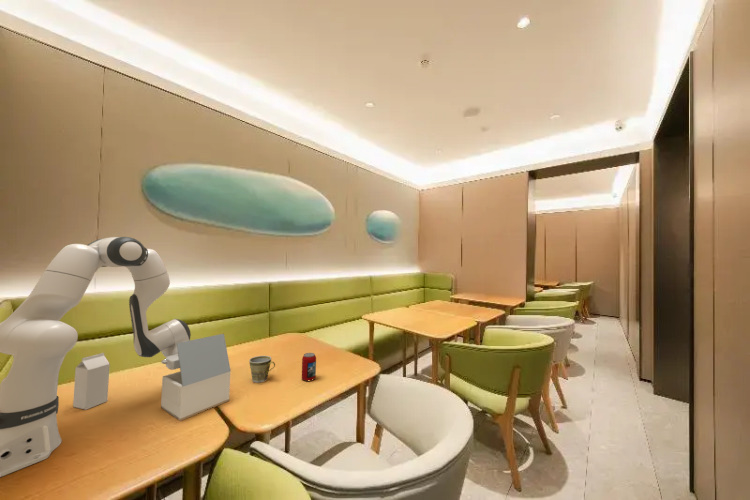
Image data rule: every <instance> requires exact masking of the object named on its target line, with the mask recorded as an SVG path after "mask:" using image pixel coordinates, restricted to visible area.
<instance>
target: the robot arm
mask: <svg viewBox="0 0 750 500" xmlns="http://www.w3.org/2000/svg"><path fill="white" fill-rule="evenodd" d="M105 267H109V268H121V267H125V268H127V269H128V271H129V273H130V274H131V277H132V279H133V284H134V291H133V293H132V294H131V295H130V296H129V300H128V305H129V313H130V315H129V316H130V320H131V328H132V333H133V347H134V351H135V352H136V354H137V355H138V356H139V357H141V358H153V357H154V356H156V355H157V354H159V353H161V354H162V355H163V356H164V357H165V358H164V359H163V360H161V361H160V362H161V364H163V365H165V367H166V368H167V369H168V370H171V371H173V370H178V369H180V365H179V357H178V350H177V343H180V342H185V341H190V340H191V336H192V335H191V334H192V333H191V329H190V326H189V325H188V324H187V323H186V322H185V321H183V320H181V319H178V318H173V319H172V320H169V321H167V322H164V323H163V324H161V325H159V326H157V327H155V328H152V329H150V330H149V326H148V325H149V324H148V318H147V311H148V309H149V307H150V306H151V305H152V304H153V303H154V302H155V301H156V300H158V299H159V298H161V297H162V296H163V295H164V294H165V293H166V292H167V290H169V287H170V284H171V283H170V282H171V281H170V277H169V274H168V271H167V268H166V266H165V263H164V261H163V259H162V258H161V256H160V255H159V253H158V252H157V251H156V250H155V249H152V248H146V247H145V246H144V244H143V243H142V242H141V241H140V240H138V239H136V238H134V237H130V236H119V237H118V236H110V237H105V238H99V239H96V240H93V241H92V242H90V243H88V244H87V245H86V244H82V243H72V244H68V245H66V246H64V247H63V248H62V249H61V250H60V251H59V252H58V253H56V255H55V256H54V257H53V258H52V259H51V261H50V263H48V265H47V267H46V269H45V270H44V271H43V274H42V275H41V276H40V278H39V279H38V281H37V283H36V285H35V286H34V287H33V289H32V290H31V292H30V294H29V295H28V296H27V297H26V298H25V300H24V301H23V302H21V304H20V305H19V306H18V307H17V308H16V309H15V310H14V311H13V312H12V313H11V314H10V315H9V316H8V317H7V318H6V319H5V320H3V321H1V322H0V354H5V355H9V356H10V355H11V356H13V360H12V363H11V364H12V365H11V367H10V369H9V371H8V373H7V375H6V376H5V377H4V378H3V379H2V380H1V382H0V478H1V477H4V476H6V475H9V474H11V473H13V472H16V471H19V470H21V469H24V468H26V467H29V466H31V465H33V464H37V463H39V462H41V461H43V460H46V459H48V458H49V457H50V456H51V454H52V452H53V451H54V450H55V449H57V448H58V447H59V446H60V445H61V444H62V441H63V440H62V437H61V435H60V432H59V429H58V428H59V427H58V419H57V418H58V417H57V414H59V413H58V412H59V406H60V404H59V398H60V397H59V395H58V385H59V374H60V370H61V367H62V364H63V362H64V360H65V357H66V356H67V354H68V352H70V351H71V350H72V349H73V348H74V347H75V346H76V344H77V342H78V337H79V335H78V331H77V330H76V328H75V327H73V326H71V325H69V323H66V322H63V321H60V320H61V319H62V318H63V317H64V316H65V314H67V313H68V312H69V311H70V310H72V309H73V308H75V307H77V306H78V305H79V304H80V302H81V300H82V299H83V297H84V295H85V293H86V291H87V289H88V288H89V285H90V284H91V282H92V280H93V278H94V275H95V273H96V272H97V271H98V270H99V269H100V268H105Z"/></svg>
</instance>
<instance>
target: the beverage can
mask: <svg viewBox="0 0 750 500" xmlns="http://www.w3.org/2000/svg"><path fill="white" fill-rule="evenodd" d="M316 373H317V357H316V354H315V353H314V352H306V353H304V354H303V356H302V359H301V380H302V381H304V380H306V381H305V382H309V381H308V380H312V379H313V380H315V379H316V376H317V375H316ZM314 378H315V379H314ZM313 380H312V381H313Z"/></svg>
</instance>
